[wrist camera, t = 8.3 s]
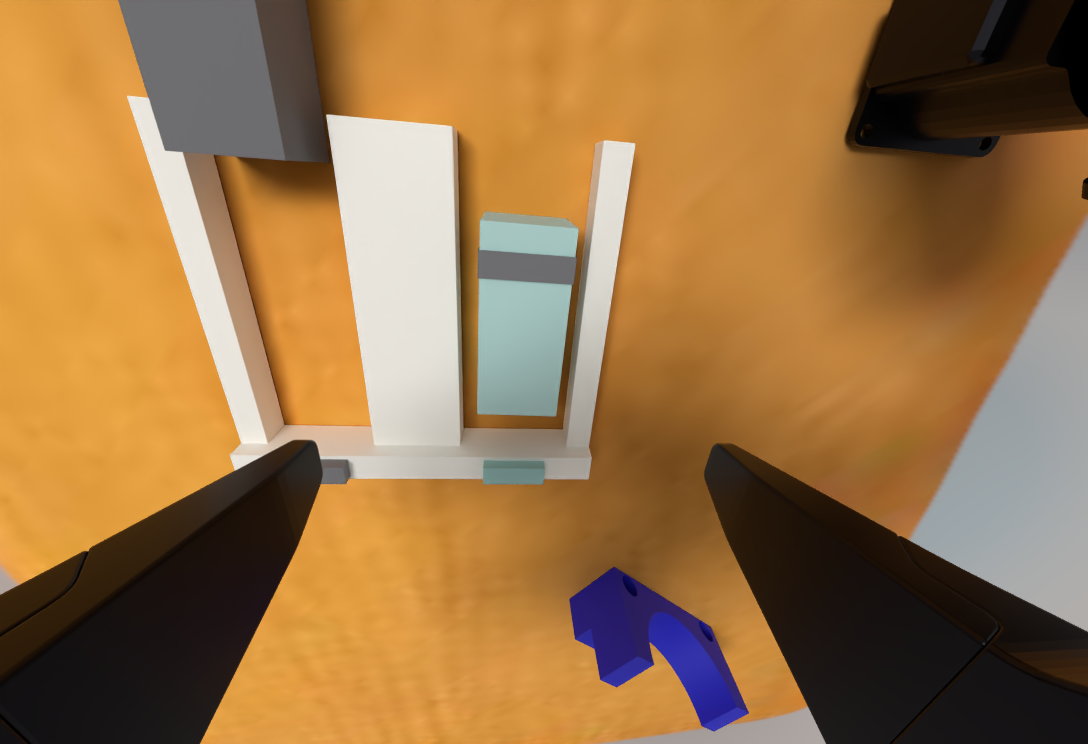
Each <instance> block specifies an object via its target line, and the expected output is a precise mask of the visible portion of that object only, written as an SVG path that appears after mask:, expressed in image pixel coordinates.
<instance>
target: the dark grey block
mask: <svg viewBox="0 0 1088 744" xmlns="http://www.w3.org/2000/svg"><path fill="white" fill-rule="evenodd" d="M118 1H119V4H120V7H121V11H122V14H123V17H124V20H125V23H126V27H127V30H128V33H129V36H130V40H131V43H132V46H133V49H134V53H135V56H136V59H137V62H138V65H139V69H140V72H141V75H142V78H143V82H144V85H145V88H146V91H147V94H148V98H149V101H150V104H151V107H152V111H153V114H154V117H155V120H156V123H157V127H158V130H159V133H160V136H161V140H162V143H163V146H164V149H165V151H174V152H187V153H199V154H211V155H224V156H236V157H248V158H261V159H273V160H285V161H303V162H322V163H330V159H329V153H328V146H327V139H326V132H325V126H324V119H323V112H322V105H321V99H320V92H319V85H318V79H317V72H316V65H315V58H314V52H313V45H312V38H311V31H310V25H309V18H308V11H307V5H306V0H118Z"/></svg>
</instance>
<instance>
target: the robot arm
mask: <svg viewBox="0 0 1088 744" xmlns="http://www.w3.org/2000/svg"><path fill="white" fill-rule="evenodd" d="M863 127H865V134H864V135H863V137H861V130H862V129H863ZM1082 129H1088V0H895V2H894V4H893V7H892V10H891V13H890V16H889V18H888V21H887V24H886V27H885V30H884V32H883V35H882V38H881V41H880V43H879V46H878V49H877V52H876V55H875V57H874V60H873V63H872V66H871V69H870V71H869V74H868V77H867V80H866V83H865V86H864V89H863V91H862V94H861V97H860V100H859V103H858V105H857V108H856V111H855V114H854V117H853V119H852V122H851V125H850V128H849V131H848V135H847V139H848V142H849V144H850V145H852V146H857V147H867V148H877V149H887V150H897V151H908V152H918V153H928V154H938V155H948V156H958V157H968V158H971V157H983V156H985V155H987V154H989V153H990V152H991V151H992V150H993V148H994V147H995V145H996V144H997V142H998V140H999V138H1000V136H1003V135H1016V134H1029V133H1042V132H1055V131H1069V130H1082ZM981 141H982V143H981ZM980 143H981V145H980ZM979 145H980V147H979ZM1082 198H1083V199H1086V200H1088V178H1086V179H1084V180H1083V187H1082ZM704 477H705V481H706V484H707V487H708V490H709V492H710V495H711V498H712V501H713V503H714V506H715V509H716V512H717V514H718V517H719V520H720V522H721V525H722V528H723V531H724V533H725V535H726V538H727V540H728V542H729V545H730V547H731V549H732V551H733V553H734V555H735V557H736V559H737V561H738V563H739V565H740V568H741V570H742V572H743V574H744V576H745V578H746V580H747V582H748V584H749V586H750V588H751V590H752V592H753V594H754V596H755V598H756V600H757V603H758V605H759V607H760V609H761V611H762V613H763V615H764V617H765V619H766V621H767V623H768V625H769V627H770V629H771V631H772V633H773V635H774V638H775V640H776V642H777V644H778V646H779V648H780V650H781V652H782V654H783V656H784V658H785V660H786V662H787V664H788V666H789V668H790V670H791V672H792V675H793V677H794V679H795V681H796V683H797V685H798V687H799V689H800V691H801V693H802V695H803V697H804V699H805V701H806V703H807V705H808V707H809V710H810V711H811V714H812V716H813V718H814V720H815V722H816V724H817V726H818V728H819V730H820V732H821V734H822V736H823V738H824V740H825V742H826V744H1088V632H1087V631H1085V630H1083V629H1081V628H1079V627H1077V626H1075V625H1073V624H1071V623H1069V622H1067V621H1065V620H1063V619H1061V618H1059V617H1057V616H1055V615H1053V614H1051V613H1049V612H1047V611H1045V610H1043V609H1041V608H1039V607H1037V606H1035V605H1033V604H1031V603H1029V602H1027V601H1025V600H1023V599H1021V598H1019V597H1017V596H1015V595H1013V594H1011V593H1009V592H1007V591H1005V590H1003V589H1001V588H999V587H997V586H995V585H993V584H991V583H989V582H987V581H985V580H983V579H981V578H979V577H977V576H975V575H973V574H971V573H969V572H967V571H965V570H963V569H961V568H959V567H958V566H956V565H954V564H952V563H950V562H948V561H946V560H944V559H943V558H941V557H939V556H937V555H935V554H933V553H931V552H929V551H927V550H925V549H924V548H922V547H920V546H918V545H916V544H915V543H913V542H911V541H909V540H907V539H906V538H904V537H902V536H898V535H897V534H896V533H894V532H893V531H891V530H889V529H887V528H885V527H884V526H882V525H880V524H878V523H876V522H874V521H873V520H871V519H869V518H867V517H865V516H863V515H862V514H860V513H858V512H856V511H854V510H852V509H851V508H849V507H847V506H845V505H843V504H842V503H840V502H838V501H836V500H834V499H832V498H831V497H829V496H827V495H825V494H823V493H821V492H820V491H818V490H816V489H814V488H812V487H811V486H809V485H807V484H805V483H803V482H801V481H800V480H798V479H796V478H794V477H792V476H790V475H789V474H787V473H785V472H783V471H781V470H780V469H778V468H776V467H774V466H772V465H770V464H769V463H767V462H765V461H763V460H761V459H759V458H758V457H756V456H754V455H752V454H750V453H749V452H747V451H745V450H743V449H741V448H739V447H738V446H736V445H734V444H724V443H718V444H715V445H714V446H713V447H712V449H711V452H710V455H709V458H708V462H707V465H706V468H705V472H704ZM322 478H323V468H322V464H321V459H320V455H319V450H318V446H317V444H316V442H315V441H313V440H292V441H290V442H288V443H286V444H284V445H282V446H280V447H279V448H277V449H275V450H273V451H271V452H269V453H267V454H265V455H264V456H262V457H260V458H258V459H256V460H254V461H252V462H250V463H248V464H247V465H245V466H243V467H241V468H239V469H237V470H235V471H233V472H232V473H230V474H228V475H226V476H224V477H222V478H220V479H218V480H217V481H215V482H213V483H211V484H209V485H207V486H205V487H203V488H201V489H200V490H198V491H196V492H194V493H192V494H190V495H188V496H186V497H185V498H183V499H181V500H179V501H177V502H175V503H173V504H171V505H170V506H168V507H166V508H164V509H162V510H160V511H158V512H156V513H154V514H153V515H151V516H149V517H147V518H145V519H143V520H141V521H139V522H138V523H136V524H134V525H132V526H130V527H128V528H126V529H124V530H123V531H121V532H119V533H117V534H115V535H113V536H111V537H109V538H107V539H106V540H104V541H102V542H100V543H98V544H96V545H94V546H92V547H91V548H90V549H89V551H83V552H81V553H79V554H77V555H75V556H73V557H72V558H70V559H68V560H66V561H64V562H62V563H60V564H59V565H57V566H55V567H53V568H51V569H49V570H47V571H45V572H43V573H41V574H39V575H38V576H36V577H34V578H32V579H30V580H28V581H26V582H24V583H22V584H20V585H18V586H16V587H14V588H12V589H10V590H9V591H7V592H5V593H3V594H1V595H0V744H200V743H201V741H202V739H203V737H204V735H205V733H206V731H207V729H208V727H209V725H210V722H211V720H212V718H213V716H214V714H215V712H216V710H217V708H218V706H219V704H220V702H221V700H222V698H223V696H224V694H225V692H226V690H227V688H228V686H229V684H230V682H231V680H232V678H233V676H234V674H235V672H236V670H237V668H238V666H239V664H240V662H241V660H242V658H243V656H244V654H245V652H246V650H247V648H248V646H249V644H250V642H251V640H252V638H253V636H254V634H255V632H256V630H257V628H258V626H259V624H260V622H261V620H262V618H263V616H264V614H265V612H266V610H267V608H268V606H269V604H270V602H271V600H272V598H273V596H274V594H275V592H276V590H277V587H278V585H279V583H280V581H281V579H282V577H283V575H284V573H285V571H286V569H287V567H288V565H289V563H290V561H291V559H292V557H293V555H294V553H295V551H296V549H297V546H298V544H299V541H300V539H301V536H302V534H303V531H304V528H305V526H306V523H307V520H308V517H309V515H310V512H311V509H312V506H313V504H314V501H315V498H316V495H317V493H318V490H319V487H320V484H321V482H322Z"/></svg>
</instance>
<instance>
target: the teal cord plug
mask: <svg viewBox="0 0 1088 744" xmlns="http://www.w3.org/2000/svg"><path fill="white" fill-rule="evenodd" d="M578 230H579V228H577V227H576V226H575V225H574V224H572V223H571V222H570V221H569V220H567V219H566V218H555V217H543V216H532V215H520V214H509V213H497V212H486V211H485V213H484V214H483V216H482V218H481V219H480V246H479V249H478V278H479V323H478V391H477V414H494V415H526V416H556V413H557V405H558V396H559V388H560V380H561V371H562V363H563V355H564V347H565V338H566V330H567V322H568V313H569V305H570V297H571V288H572V285H574V278H575V270H576V262H577V257H576V256H575V255H576V247H577V239H578Z"/></svg>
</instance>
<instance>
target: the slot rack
mask: <svg viewBox="0 0 1088 744" xmlns="http://www.w3.org/2000/svg"><path fill="white" fill-rule="evenodd" d="M127 97H128V100H129V103H130V106H131V110H132V113H133V116H134V119H135V122H136V125H137V128H138V131H139V134H140V137H141V140H142V143H143V146H144V149H145V152H146V155H147V158H148V161H149V164H150V167H151V170H152V173H153V176H154V179H155V182H156V185H157V188H158V191H159V194H160V198H161V201H162V204H163V207H164V210H165V213H166V216H167V219H168V222H169V225H170V228H171V231H172V234H173V237H174V240H175V243H176V246H177V249H178V252H179V255H180V258H181V261H182V264H183V267H184V270H185V273H186V276H187V279H188V282H189V285H190V289H191V292H192V295H193V298H194V301H195V304H196V307H197V310H198V313H199V316H200V319H201V322H202V325H203V328H204V331H205V334H206V337H207V340H208V343H209V346H210V349H211V352H212V355H213V358H214V361H215V364H216V367H217V370H218V373H219V376H220V380H221V383H222V386H223V389H224V392H225V395H226V398H227V401H228V404H229V407H230V410H231V413H232V416H233V419H234V422H235V425H236V428H237V431H238V434H239V437H240V440H241V444H240V445H239V446H238V447H237V448H236V449H235V450H234V451H233V452H232V453H231V454H230V457H231V460H232V463H233V466H234V468H235V470H237V469H239V468H241V467H243V466H245V465H247V464H248V463H250V462H252V461H254V460H256V459H258V458H260V457H262V456H264V455H265V454H267V453H269V452H271V451H273V450H275V449H277V448H279V447H280V446H282V445H284V444H286V443H288V442H290V441H292V440H313V441H315V442H316V444H317V446H318V450H319V455H320V459H321V464H322V468H323V478H322V482H321V484H346V483H347V481H348V479H483V484H543V483H544V479H589V473H590V467H591V461H592V457H591V453H590V450H589V442H590V436H591V429H592V423H593V416H594V410H595V403H596V397H597V390H598V384H599V377H600V371H601V364H602V358H603V351H604V345H605V338H606V332H607V325H608V319H609V312H610V306H611V299H612V293H613V286H614V280H615V273H616V267H617V260H618V254H619V247H620V241H621V234H622V228H623V221H624V215H625V208H626V202H627V195H628V189H629V182H630V176H631V169H632V163H633V156H634V150H635V143H626V142H616V141H605V140H604V141H601V142H598V143H595V152H594V161H593V169H592V178H591V187H590V195H589V204H588V213H587V222H586V230H585V239H584V248H583V257H582V265H581V274H580V283H579V291H578V300H577V309H576V318H575V326H574V335H573V344H572V353H571V361H570V370H569V379H568V387H567V396H566V405H565V414H564V422H563V429H510V428H464V424H463V376H462V327H461V278H460V230H459V181H458V132H457V130H456V129H455V128H454V127H453V126H444V125H434V124H423V123H412V122H402V121H391V120H380V119H370V118H359V117H348V116H337V115H327V114H326V116H327V123H328V130H329V137H330V144H331V151H332V158H333V165H334V171H335V178H336V185H337V192H338V199H339V206H340V213H341V220H342V226H343V233H344V240H345V247H346V254H347V261H348V268H349V275H350V281H351V288H352V295H353V302H354V309H355V316H356V323H357V330H358V336H359V343H360V350H361V357H362V364H363V371H364V378H365V385H366V391H367V398H368V405H369V412H370V419H371V426H319V425H284V421H283V417H282V413H281V410H280V406H279V402H278V398H277V394H276V391H275V387H274V383H273V379H272V375H271V372H270V368H269V364H268V360H267V356H266V353H265V349H264V345H263V341H262V337H261V334H260V330H259V326H258V322H257V318H256V315H255V311H254V307H253V303H252V299H251V296H250V292H249V288H248V284H247V280H246V277H245V273H244V269H243V265H242V261H241V258H240V254H239V250H238V246H237V242H236V239H235V235H234V231H233V227H232V223H231V220H230V216H229V212H228V208H227V204H226V201H225V197H224V193H223V189H222V185H221V182H220V178H219V174H218V170H217V166H216V163H215V159H214V155H211V154H199V153H187V152H174V151H165V149H164V146H163V143H162V140H161V136H160V133H159V130H158V127H157V123H156V120H155V117H154V114H153V111H152V107H151V104H150V101H149V98H145V97H134V96H127Z"/></svg>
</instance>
